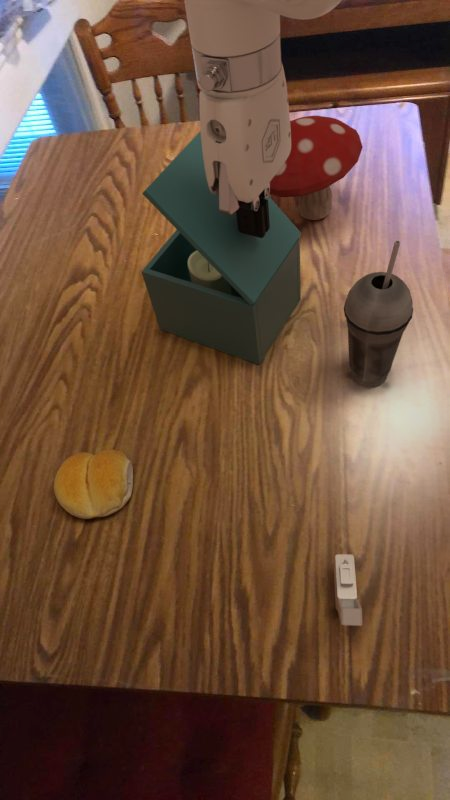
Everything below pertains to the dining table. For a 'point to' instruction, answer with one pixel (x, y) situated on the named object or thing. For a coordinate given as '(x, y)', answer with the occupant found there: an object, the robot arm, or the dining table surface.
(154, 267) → the chest
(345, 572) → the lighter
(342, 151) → the decorative mushroom
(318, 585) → the dining table surface
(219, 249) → the lid
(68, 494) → the bread roll
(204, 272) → the candle
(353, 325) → the beverage cup
